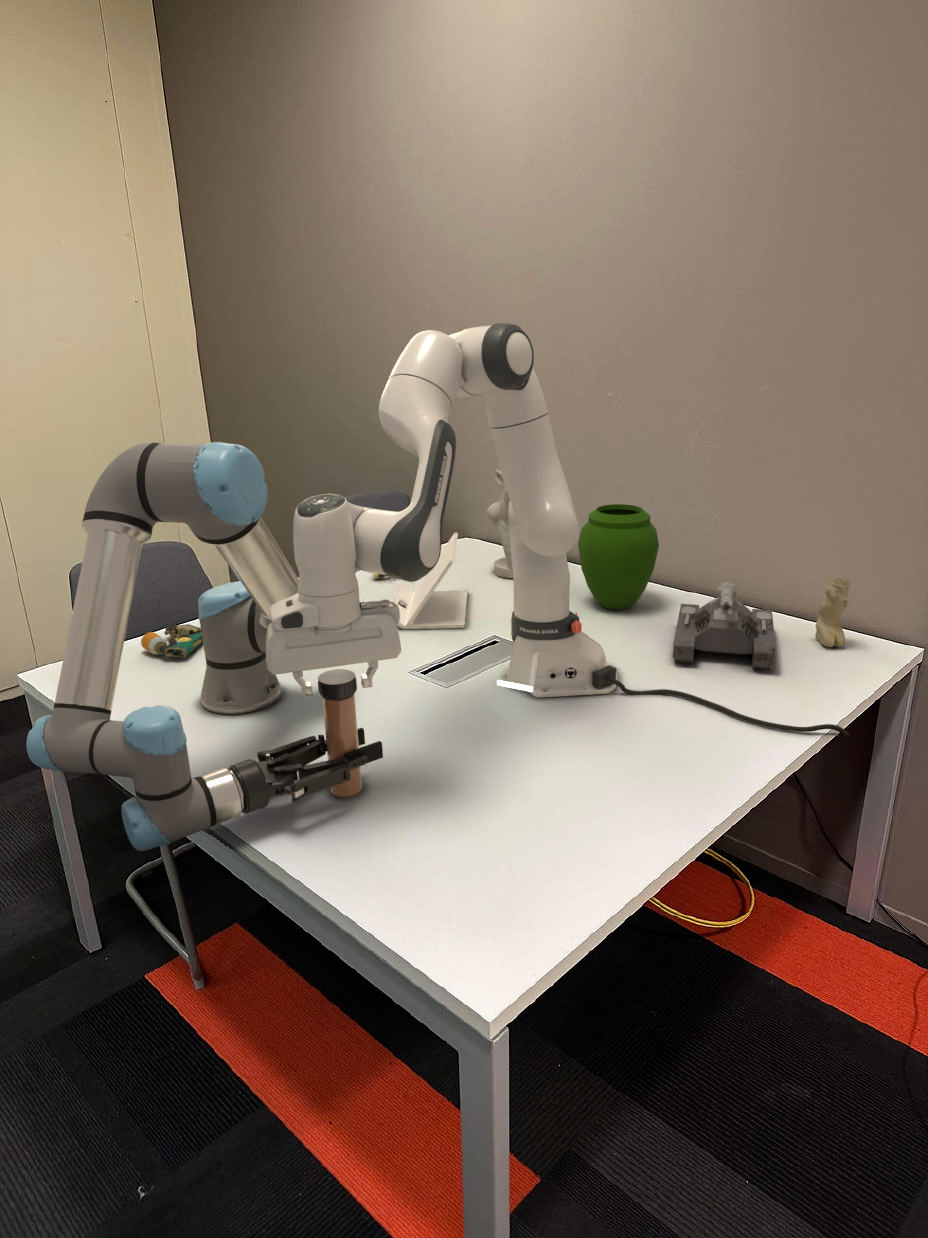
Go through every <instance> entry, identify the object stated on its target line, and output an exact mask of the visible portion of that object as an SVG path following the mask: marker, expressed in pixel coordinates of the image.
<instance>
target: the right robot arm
mask: <svg viewBox="0 0 928 1238" xmlns="http://www.w3.org/2000/svg"><path fill="white" fill-rule="evenodd" d="M526 333H527V332H525V330H523V329H522V328H521V326H519V325H517V324H513V323H508V322H497V323H494V324H491V325H481V326H473V327H468V328H465V329H462V330H461V331H458V332H455V333H451V334H449V335H448V334H447V333H445V332H442V331H439V330H434V329H428V330H422V331H419V332H418V333H416V334H415V335H414V336H413V337H412V338H411V339H409V342H408V343H407V345H406V346H405V348H404V349H403V351H402V352H401V353H400V355H399V357H398V359H397V361H396V362H395V365H394V366H393V368H392V370H391V372H390V375H389V377H388V379H387V382H386V384H385V387H384V389H383V391H382V394H381V397H380V400H379V404H378V419H379V421H380V424H381V427H382V429H383V431H384V432H385V434H386V435H387V436H388V437H389V438H390V439H391V440H392V441H393V442H394V443H395V444H396V445H398V447H400V448H402V449H403V450H404V451H406V452H408V453H410V454H412V455H414V456H415V457H417V458H418V467H417V472H416V477H415V481H414V486H413V489H412V490H413V491H412V496H411V500H410V504H409V505H408V506H407V507H406V508H405V509H403V510H401V511H393V510H384V509H377V508H373V507H367V506H361V505H356V504H353V503H351V502H349V501H347V498H346V497H345V496H343V495H341V494H337V493H322V494H317V495H313V496H309V497H307V498H305V499H303V500H302V501H301V502H299V504H297V505H296V508H295V511H294V516H293V524H292V543H293V554H294V563H295V565H296V568H297V570H298V578H299V583H298V593H297V594H295V595H293V596H291V597H288V598H286V599H284V600H281V601H279V602H276V603H274V604H273V605H271V607H270V620H271V623H270V624H269V626H268V628H267V633H266V662H267V669H268V670H269V671H270V672H271V673H272V674H274V675H276V676H277V675H282V674H284V675H285V674H290V673H291V674H292V675H293V676H292V677H293V679H294V681H296V683H297V684H298V685H299V686H300V687H301V693H302V697H303V698H305V697H311V696H313V685H312V681H310V680H309V681H305V680H304V678H303V677H304V672H305V671H312V670H319V669H327V668H335V667H342V666H349V665H358V664H365V663H366V664H367V665H368V667H367V669H366V672H365V673H361V674H360V679H361V680H360V682H361V687H362V689H368V688H373V677H374V676H375V674H376V672H377V670H378V669H379V662H380V661H385V660H393V659H397V658H398V657H399V656H400V654H401V652H402V646H401V637H400V633H399V629H398V626H397V624H398V623H399V620H400V610H399V607H398V605H397V604H396V603H394V601H390V599H384V598H383V599H380V600H367V601H361V600H360V589H359V580H358V578H357V575H356V574H357V573H358V572H360V571H362V572H364V573H365V572H366V573H371V574H373V573H377V574H383V575H388V576H387V577H390V578H394V579H398V580H401V581H404V582H409V583H414V582H418V581H419V580H421V579H422V578H423V579H424V577H425V576H426V575H427V574H428V573H429V572H430V571H431V570H432V569H433V568H434V567H435V566H436V564H437V562H438V560H439V557H440V553H441V552H442V543H443V542H442V541H443V524H444V519H445V518H444V517H445V513H446V509H447V508H446V507H447V502H448V497H449V493H450V492H449V491H450V487H451V482H452V477H453V471H454V467H455V466H454V465H455V460H456V452H457V436H456V433H455V430H454V428H453V427H452V425H451V424H449V417H450V414H451V410H452V407H453V405H454V402H455V399H456V398H471V397H479V396H482V398H483V399H484V400H483V401H484V405H485V406H484V408H485V412H486V418H487V423H488V428H489V431H490V435H491V440H492V442H493V448H494V451H495V455H496V458H497V461H498V464H499V468H500V471H501V473H502V476H503V479H504V483H505V486H506V489H507V492H508V495H509V499H510V501H509V506H508V516H509V533H510V546H511V557H512V566H513V578H512V579H513V611H512V612H511V618H510V635H511V640H512V645H511V646H512V647H511V655H510V660H509V665H508V669H507V672H506V675H505V678H506V680H501V679H497V680H496V685H497V686H500V687H505V688H509V689H515V690H519V691H525V692H527V693H529V694H530V695H531V696H533V697H535V698H556V697H572V696H573V697H574V696H588V695H589V696H590V695H591V696H592V695H607V694H611V693H612V692H613V691H615V690H616V688H617V687H619V689H620V690H621V692H623V693H625V694H627V695H631V696H648V695H649V696H650V695H651V696H652V695H672V696H677V697H681V698H685V699H689V700H690V701H691V700H692V701H694V702H697V703H700V704H703V705H705V706H708V707H711V708H713V709H715V710H717V711H718V710H719V711H721V712H723V713H725V714H728V715H729V716H732V717H734V718H737V719H740V720H742V721H745V722H748V723H750V724H751V723H752V724H755V725H759V726H762V727H767V728H772V729H777V730H784V731H789V732H797V733H799V732H800V733H807V732H816V731H822V730H833V731H835V732H838V733H840V734H841V735H842V736H844V737H850V733H848V731H847V730H846V729H845V728H843V727H841V726H839V725H837V724H832V723H824V724H817V725H811V726H795V725H789V724H788V725H787V724H781V723H775V722H770V721H766V720H761V719H758V718H754V717H750V716H747V715H744V714H742V713H739V712H736V711H734V710H732V709H730V708H728V707H725V706H723V705H721V704H718V703H715V702H714V701H713V702H712V701H710V700H707V699H705V698H702V697H699V696H696V695H693V694H690V693H687V692H683V691H680V690H675V689H667V688H665V689H664V688H662V689H660V688H659V689H651V690H650V689H649V690H632V689H628V688H627V687H626V686H625V685H624V683H622V682H621V681H620V680H618V673H617V667H614V666H613V665H612V664H611V663H609V662H607V658H606V654H605V651H604V648H603V647H602V645H601V644H600V643H599V642H598V641H596V640H595V639H593V638H591V637H590V636H589V635H587V634H586V633H585V632H583V631H582V630H583V626H582V625H583V624H582V622H581V621H580V616H579V615H578V612H577V611H575V613H574V612H573V611H571V610H570V590H571V589H570V586H571V585H570V584H571V575H570V570H569V563H568V556H567V553H568V552H570V551H571V550H572V548H574V547H575V544H576V543H577V542H578V539H579V536H580V526H579V520H578V516H577V513H576V510H575V506H574V502H573V500H572V496H571V492H570V489H569V485H568V482H567V478H566V476H565V473H564V469H563V466H562V463H561V461H560V456H559V454H558V451H557V446H556V441H555V437H554V433H553V429H552V423H551V418H550V415H549V409H548V405H547V402H546V399H545V395H544V391H543V389H542V386H541V383H540V379H539V378H538V375H537V373H536V370H535V369H534V363H535V355H534V354H535V353H534V348H533V345H532V341H531V339H530V338H529V336H528V334H526Z"/></svg>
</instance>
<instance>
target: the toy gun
mask: <svg viewBox="0 0 928 1238" xmlns="http://www.w3.org/2000/svg"><path fill="white" fill-rule="evenodd" d="M372 576H373V579H374V580H377V579H382V578H386V577H387V578H388V577H389V576H388V575H383V574H377V573H372Z"/></svg>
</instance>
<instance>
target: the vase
mask: <svg viewBox="0 0 928 1238" xmlns="http://www.w3.org/2000/svg"><path fill="white" fill-rule="evenodd" d="M587 516H588V517H587V518H588V521H587V522H586V523H585V524H584V525H583V526H582V527H581V529H580V532H579V537H578V541H577V546H578V554H579V562H580V569H581V571H582V574H583V577H584V580H585V583H586V585H587V588H588V590H589V591H590V594H592V597H593V598H594V600H595V601H596V602H597V603H598V604H599V605H600V606H602V607H604V608H606V609H609V610H625V609H628V608H630V607H632V606H634V604H636V602H638V601H639V599H640V597H641V596H642V595H643V593H644V592H645V590H646V588H647V586H648V584H649V581H650V579H651V577H652V574H653V572H654V570H655V566H656V562H657V557H658V552H659V548H660V544H659V543H660V542H659V537H658V531H657V528H656V527H655V526H654V524H653V523H652V522H651V515H650V514H649V512H647V511H645V510H644V509H643V508H642V507H641V506H638V505H633V504H622V503H621V504H619V503H616V504H615V503H614V504H604V505H601V506H598V507H597V508H595V509H594V510H592V511H591V512H590V513H589V514H588V515H587Z"/></svg>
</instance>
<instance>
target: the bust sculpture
mask: <svg viewBox="0 0 928 1238" xmlns="http://www.w3.org/2000/svg"><path fill="white" fill-rule="evenodd" d="M494 480H495V482H496V484H497V486H498V487H501V488H502V494H501V497H500V499H499V501H496V502H494V503H492V504H491V505H490V506H488V508H487V509H486V513H485V514H486V517H487V518H488V519H489V520H490V522H491V523H492V524H493V526H494V527H495V529H496V532H497V534H498V537H499V540H500V542H501V546H502V548H503V553H504V557H502V558H498V559H496V560H495V561H494V562H493V573H494V574H495V575H496V576H497V577H500V578H506V579H513V566H512V557H511V546H510V533H509V516H508V506H509V501H510V499H509V495H508V492H507V489H506V486H505V483H504V479H503V476H502V473H501V471H500V468H499V464H498V460H497V461H496V468H495V471H494Z"/></svg>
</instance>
